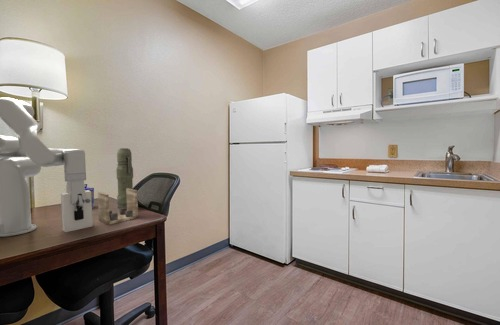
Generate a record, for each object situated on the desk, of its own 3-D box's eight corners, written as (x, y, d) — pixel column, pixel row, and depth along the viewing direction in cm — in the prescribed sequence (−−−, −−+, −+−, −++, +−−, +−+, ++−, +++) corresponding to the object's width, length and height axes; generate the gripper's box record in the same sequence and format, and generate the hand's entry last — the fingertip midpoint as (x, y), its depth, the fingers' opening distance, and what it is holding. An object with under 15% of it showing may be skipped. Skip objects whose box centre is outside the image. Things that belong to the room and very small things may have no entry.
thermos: (126, 204, 149) (124, 148, 146) (139, 206, 143) (137, 148, 141) (112, 207, 141) (110, 148, 139) (125, 209, 135) (123, 148, 133)
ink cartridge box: (77, 211, 132) (75, 185, 131) (71, 210, 134) (70, 185, 133) (95, 207, 141) (94, 183, 140) (89, 206, 143) (88, 182, 142)
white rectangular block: (65, 233, 99) (64, 195, 98) (62, 230, 102) (60, 193, 101) (93, 226, 106) (91, 191, 105) (89, 224, 110) (88, 190, 109)
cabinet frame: (106, 225, 109) (105, 194, 108) (99, 220, 115) (97, 192, 114) (138, 217, 120) (137, 190, 119) (129, 214, 126) (128, 188, 125)
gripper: (59, 176, 106) (62, 216, 107) (70, 179, 95) (72, 224, 96) (79, 175, 111) (81, 213, 112) (92, 178, 101) (93, 220, 102)
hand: (77, 218), depth 104 cm, fingers closed on white rectangular block, 4 cm apart
